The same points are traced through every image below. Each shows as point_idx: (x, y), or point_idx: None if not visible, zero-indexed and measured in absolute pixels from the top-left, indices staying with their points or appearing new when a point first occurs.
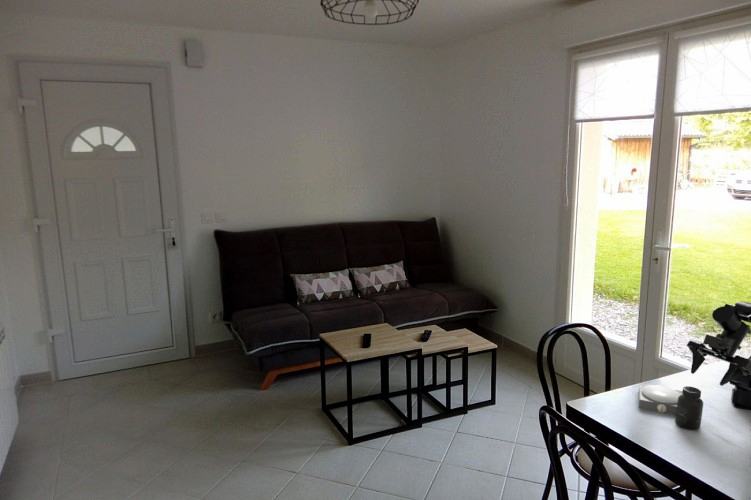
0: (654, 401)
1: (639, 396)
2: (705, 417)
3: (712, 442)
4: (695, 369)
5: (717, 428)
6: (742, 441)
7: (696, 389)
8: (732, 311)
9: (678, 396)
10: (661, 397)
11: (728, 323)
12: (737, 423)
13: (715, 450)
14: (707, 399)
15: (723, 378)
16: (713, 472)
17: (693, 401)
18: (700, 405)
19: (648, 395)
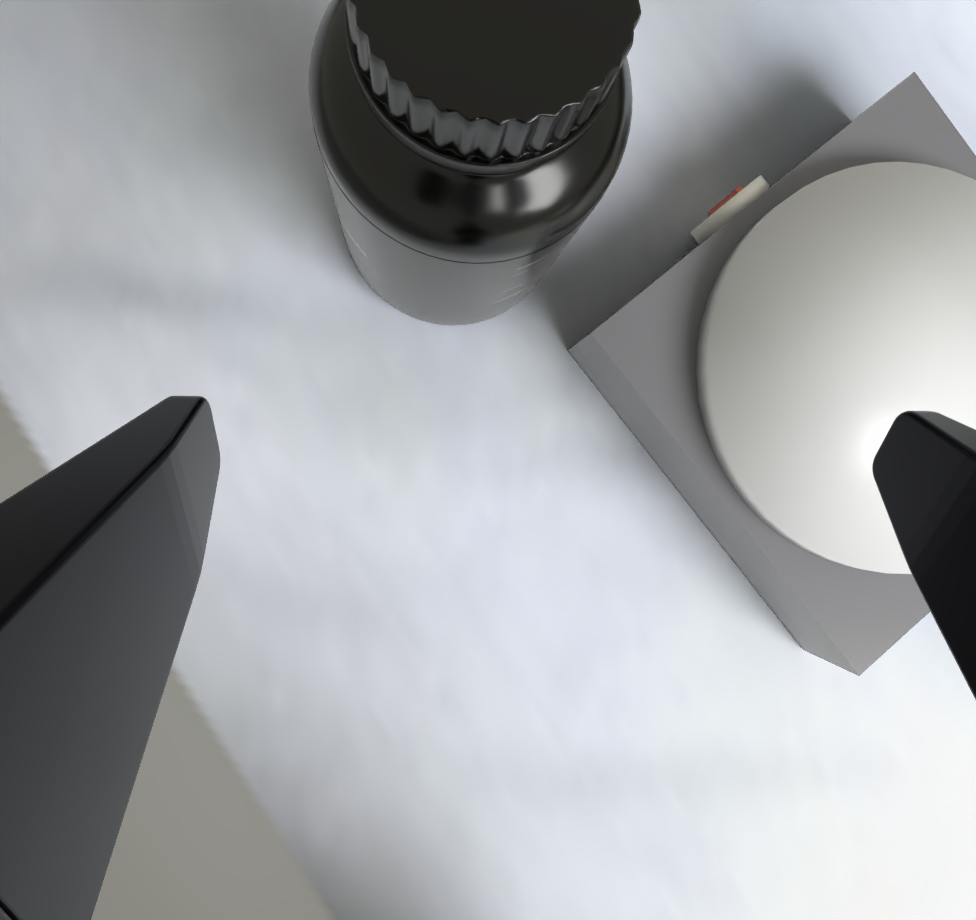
0: (824, 170)
1: None
2: (475, 526)
3: (150, 143)
4: (946, 534)
5: (292, 431)
6: (35, 414)
7: (464, 56)
8: None
9: (777, 463)
10: (838, 265)
11: None
12: (267, 702)
13: (49, 33)
14: (698, 890)
15: (98, 471)
16: None
17: None
18: (310, 69)
19: (926, 177)
